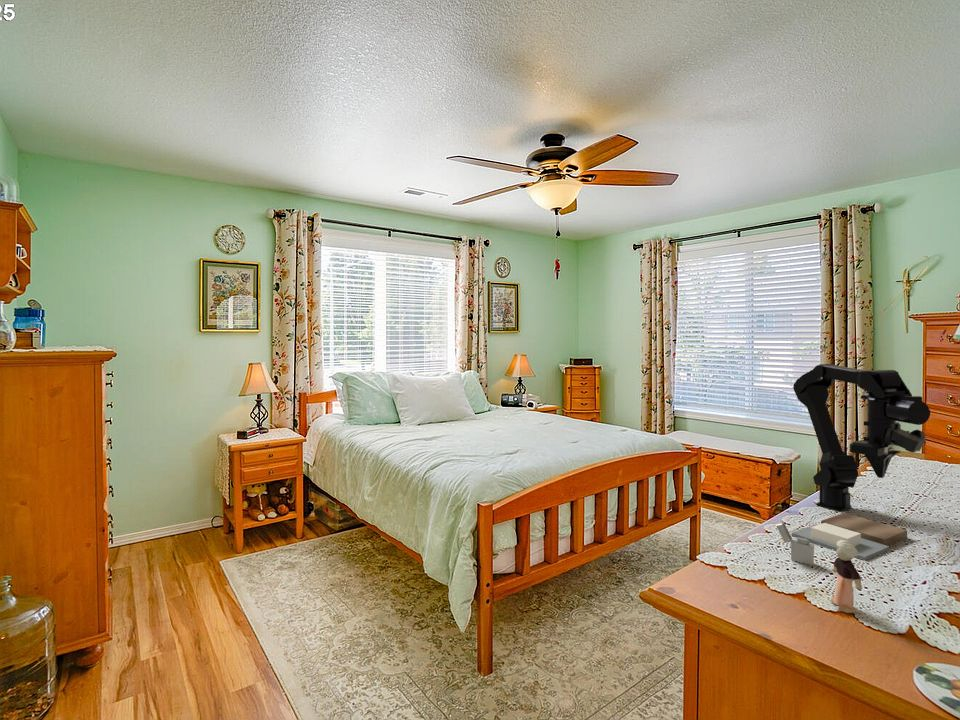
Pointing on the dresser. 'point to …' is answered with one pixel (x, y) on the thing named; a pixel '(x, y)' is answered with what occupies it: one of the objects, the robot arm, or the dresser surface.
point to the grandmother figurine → (845, 577)
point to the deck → (868, 528)
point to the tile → (834, 534)
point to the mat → (864, 549)
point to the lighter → (797, 546)
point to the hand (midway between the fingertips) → (880, 477)
